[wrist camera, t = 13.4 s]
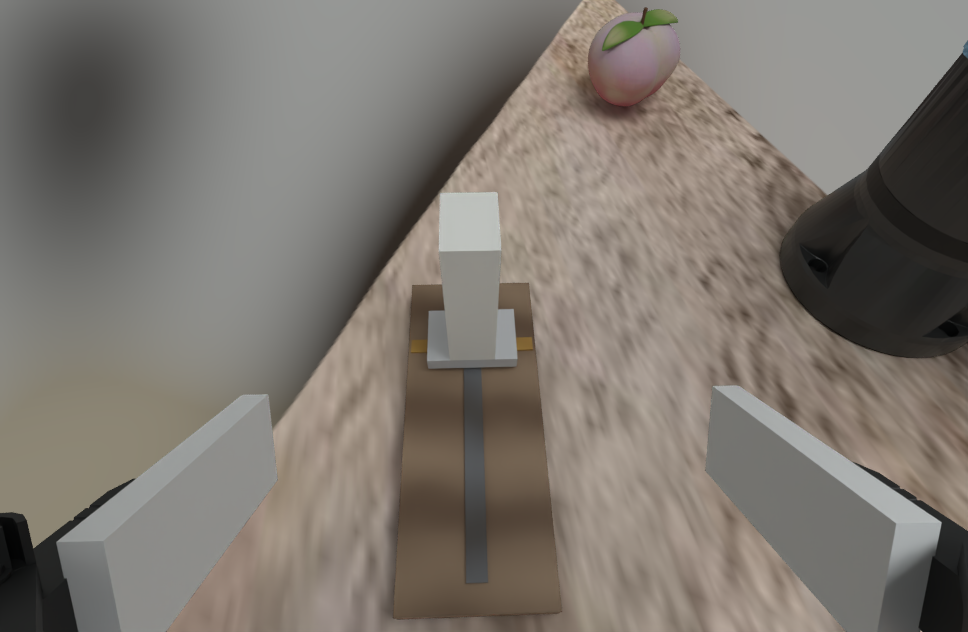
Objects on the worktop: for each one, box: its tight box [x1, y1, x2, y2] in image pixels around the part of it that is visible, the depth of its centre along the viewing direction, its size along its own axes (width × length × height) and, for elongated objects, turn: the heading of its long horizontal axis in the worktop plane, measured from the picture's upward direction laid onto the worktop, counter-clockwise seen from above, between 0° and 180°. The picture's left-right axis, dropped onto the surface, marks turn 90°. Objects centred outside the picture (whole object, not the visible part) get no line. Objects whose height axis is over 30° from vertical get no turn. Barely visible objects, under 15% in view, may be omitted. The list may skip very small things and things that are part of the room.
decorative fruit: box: [588, 8, 680, 106], centre depth 51 cm, size 9×8×10 cm
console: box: [393, 283, 562, 619], centre depth 33 cm, size 22×9×2 cm, turn 2°
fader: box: [427, 192, 517, 369], centre depth 30 cm, size 4×6×12 cm, turn 92°
